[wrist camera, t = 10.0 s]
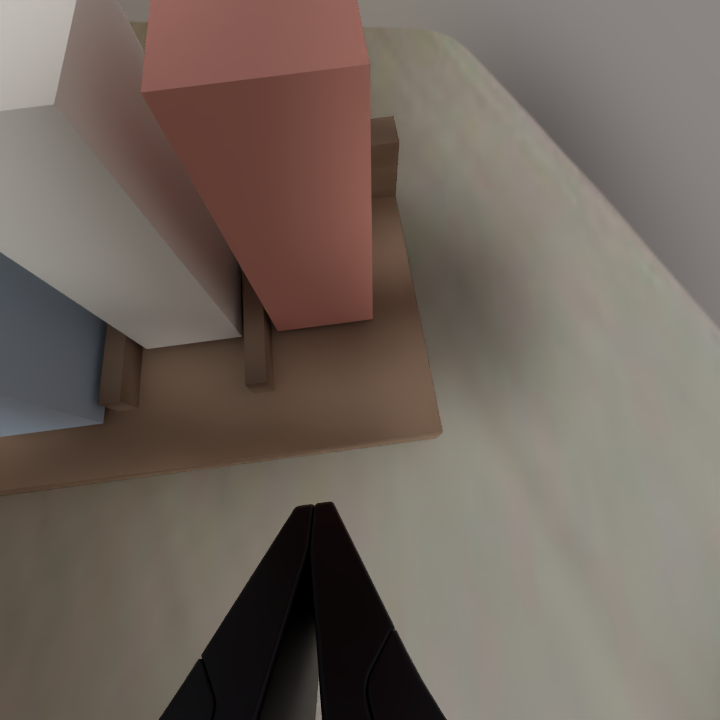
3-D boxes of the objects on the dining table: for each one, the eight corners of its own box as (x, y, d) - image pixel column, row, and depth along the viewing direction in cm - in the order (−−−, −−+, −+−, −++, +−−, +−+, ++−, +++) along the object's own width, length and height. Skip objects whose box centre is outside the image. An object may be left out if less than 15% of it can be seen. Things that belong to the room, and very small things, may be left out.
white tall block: (242, 336, 16) (54, 105, 7) (146, 349, 16) (-180, 133, 7) (240, 238, 18) (88, -57, 8) (154, 249, 18) (-96, -35, 8)
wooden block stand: (436, 438, 16) (458, 415, 12) (-18, 498, 16) (-160, 497, 12) (389, 195, 21) (393, 116, 16) (35, 240, 20) (-54, 172, 16)
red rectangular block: (372, 319, 16) (369, 64, 7) (277, 331, 16) (141, 92, 7) (358, 222, 18) (339, -88, 8) (272, 233, 18) (157, -66, 8)
